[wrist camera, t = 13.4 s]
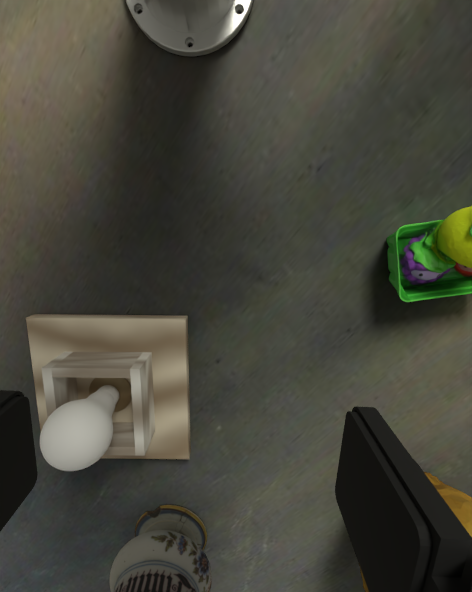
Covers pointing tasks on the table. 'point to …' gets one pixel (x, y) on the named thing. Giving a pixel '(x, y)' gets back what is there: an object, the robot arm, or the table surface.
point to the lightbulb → (79, 431)
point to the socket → (118, 376)
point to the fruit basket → (432, 258)
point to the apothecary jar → (164, 554)
